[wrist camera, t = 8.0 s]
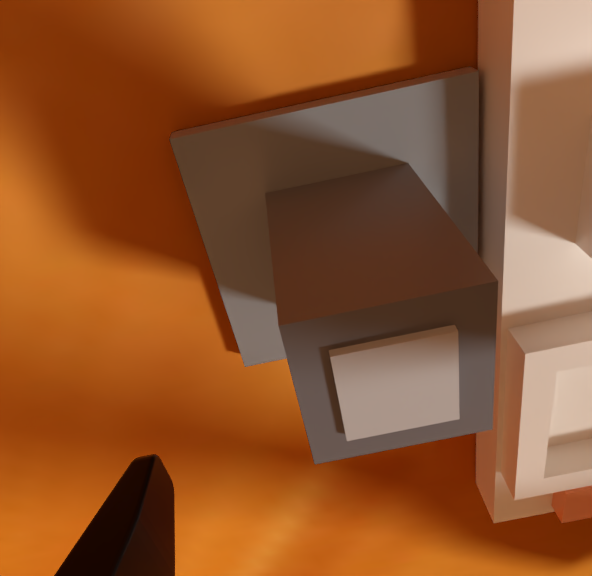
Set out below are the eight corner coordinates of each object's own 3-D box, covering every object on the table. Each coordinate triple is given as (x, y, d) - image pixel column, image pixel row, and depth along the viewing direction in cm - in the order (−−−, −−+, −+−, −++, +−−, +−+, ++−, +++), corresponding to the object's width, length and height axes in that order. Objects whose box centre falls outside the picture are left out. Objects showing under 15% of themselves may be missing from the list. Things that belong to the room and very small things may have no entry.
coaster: (470, 308, 18) (477, 319, 18) (244, 355, 18) (245, 366, 18) (469, 66, 14) (479, 71, 13) (171, 132, 14) (169, 139, 13)
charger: (416, 282, 17) (496, 436, 11) (292, 308, 17) (315, 472, 11) (407, 162, 14) (503, 286, 9) (265, 193, 14) (279, 332, 9)
